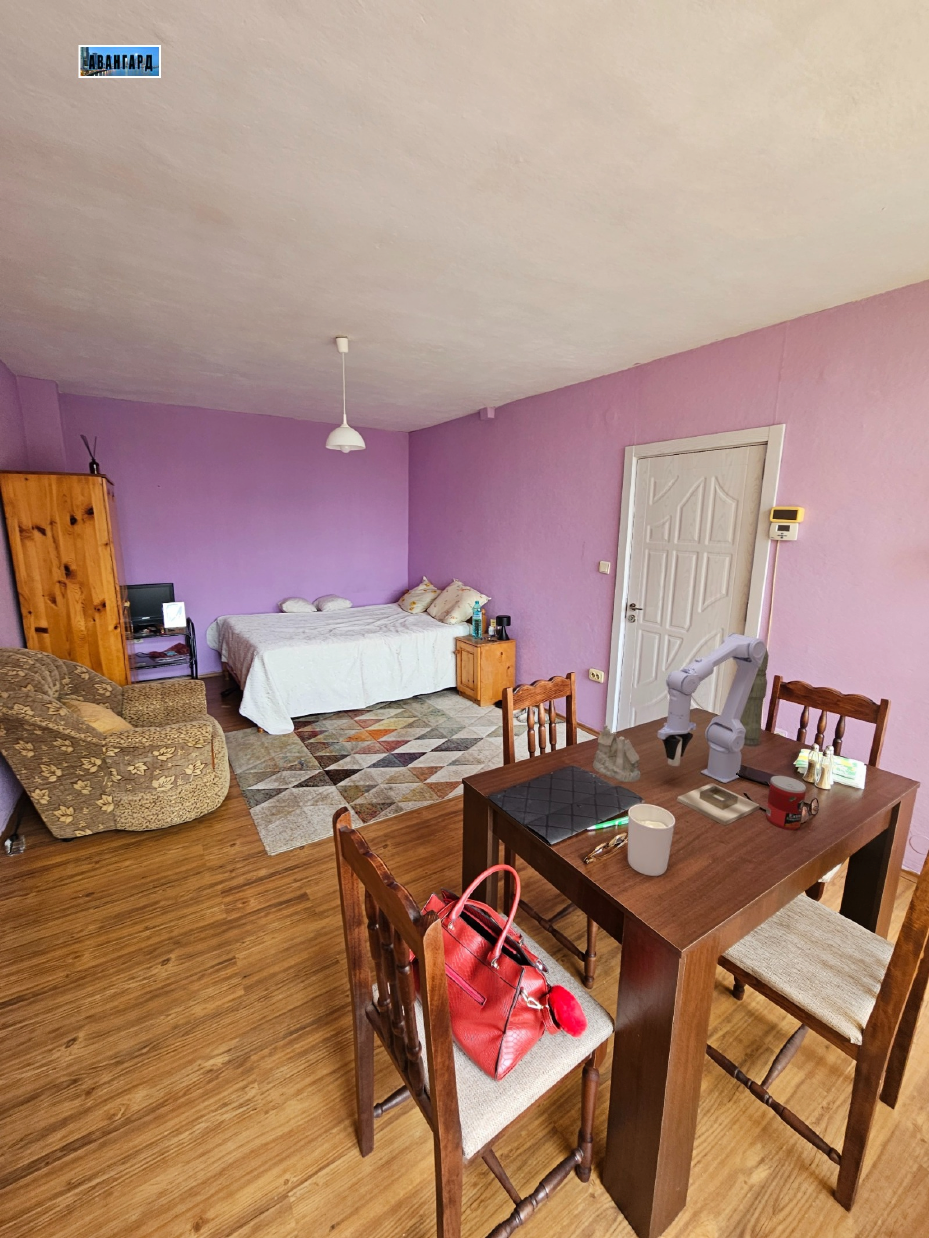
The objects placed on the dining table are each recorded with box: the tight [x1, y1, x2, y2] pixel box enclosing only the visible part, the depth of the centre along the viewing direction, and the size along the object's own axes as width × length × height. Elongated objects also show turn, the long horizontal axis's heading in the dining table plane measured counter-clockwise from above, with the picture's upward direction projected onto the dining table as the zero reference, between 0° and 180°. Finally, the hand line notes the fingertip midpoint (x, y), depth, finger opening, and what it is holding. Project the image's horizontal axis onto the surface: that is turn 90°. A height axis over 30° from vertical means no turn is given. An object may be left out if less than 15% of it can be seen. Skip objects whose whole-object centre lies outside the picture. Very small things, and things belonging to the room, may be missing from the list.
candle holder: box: [627, 803, 676, 877], centre depth 116 cm, size 10×10×12 cm
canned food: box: [765, 775, 807, 831], centre depth 134 cm, size 8×8×11 cm
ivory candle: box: [667, 736, 682, 767], centre depth 150 cm, size 3×3×8 cm
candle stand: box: [676, 782, 760, 827], centre depth 142 cm, size 16×14×3 cm
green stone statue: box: [740, 647, 770, 747], centre depth 183 cm, size 9×12×35 cm
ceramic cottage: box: [592, 724, 642, 783], centre depth 162 cm, size 16×16×15 cm
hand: (674, 757), depth 150 cm, fingers closed on ivory candle, 3 cm apart
